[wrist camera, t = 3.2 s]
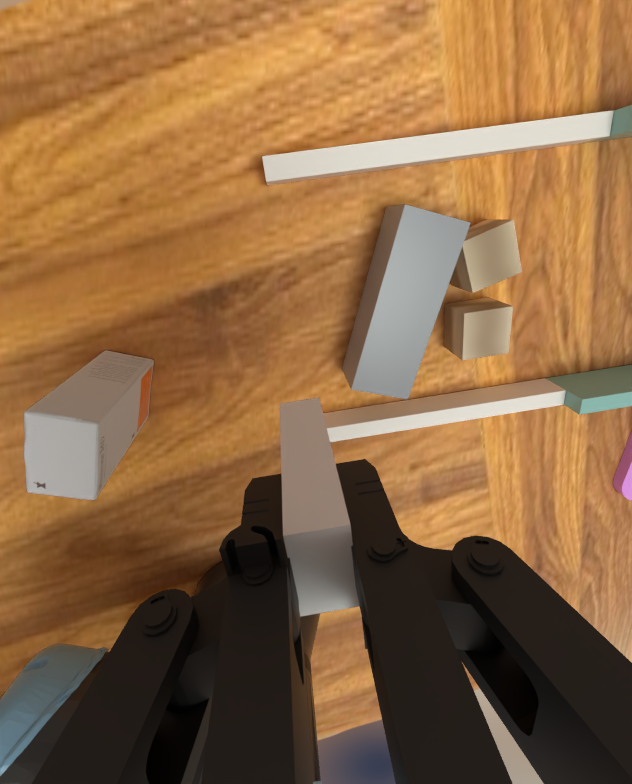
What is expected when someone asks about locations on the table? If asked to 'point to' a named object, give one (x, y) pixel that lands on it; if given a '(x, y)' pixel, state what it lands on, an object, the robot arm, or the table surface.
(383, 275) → the block
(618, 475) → the bracket
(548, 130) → the channel
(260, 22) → the table surface
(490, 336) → the chip
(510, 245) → the chip
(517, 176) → the table surface
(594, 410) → the bay
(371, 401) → the table surface
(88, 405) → the skincare box
